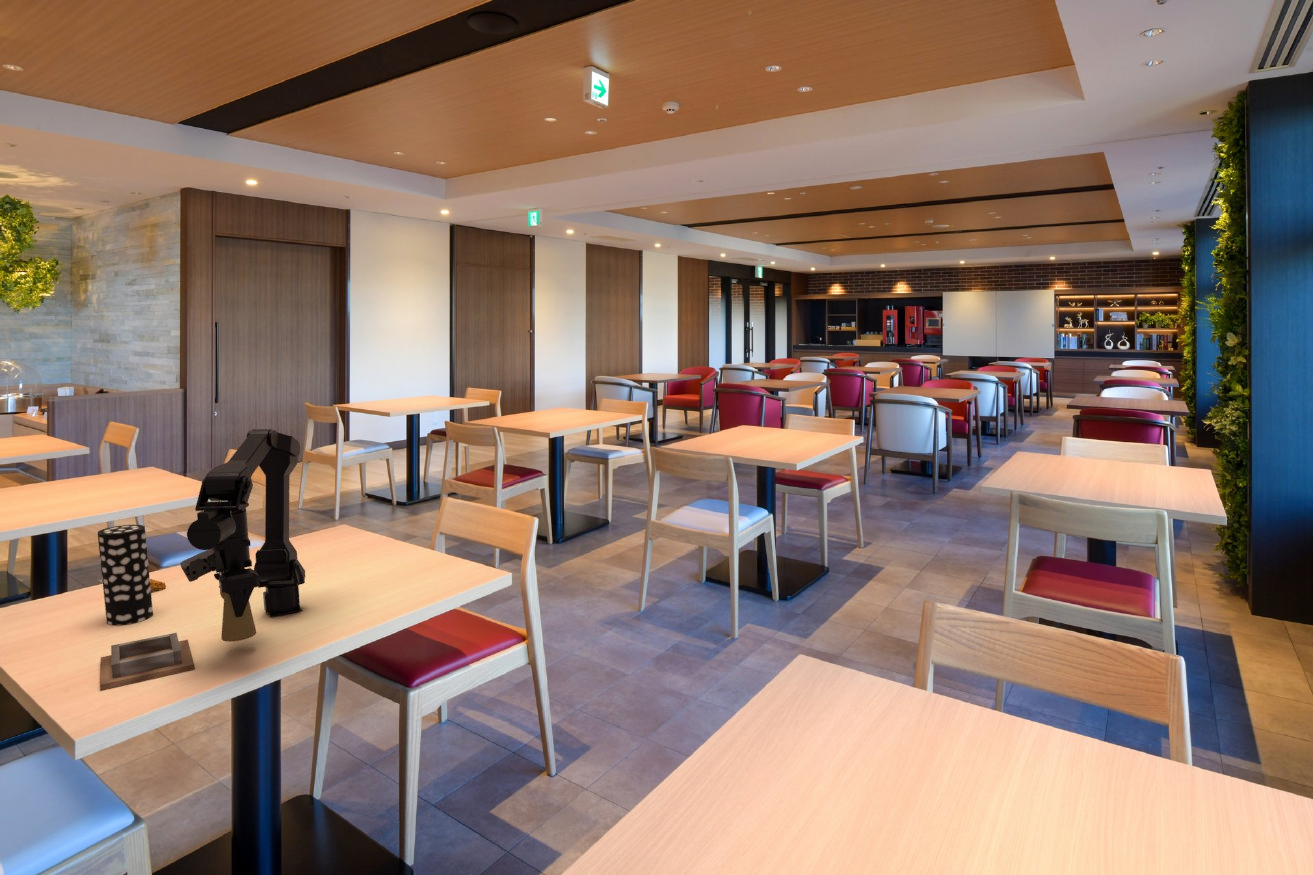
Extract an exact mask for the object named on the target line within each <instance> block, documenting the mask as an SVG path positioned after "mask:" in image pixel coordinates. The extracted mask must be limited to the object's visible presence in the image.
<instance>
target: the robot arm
mask: <svg viewBox="0 0 1313 875" xmlns="http://www.w3.org/2000/svg"><path fill="white" fill-rule="evenodd" d="M300 453H301V444H300V442H299V440H298V439H296V438H295V437H294V436H292V435H288V434H284V433H280V432H278V431H276V430H275V429H272V428H259V429H258V428H255V429H254V428H253V429H250V430H248V431H247V434H246V438H245V439H244V440H243V442H241V444H240V445H239V447H238V448H237V450H236V451H235V452H234V454H232V456H231V457H230V458H229V460H228V461H227V462H224V463H222V464H219V465H217V466H214V467H213V468H212V469H211V470H209V471H208V473H207V474H206V475H205V477H203V479H202V482H201V485H200V489H199V493H198V496H197V501H196V503H195V509H194V510H195V512H197V514H196V516H197V517H196V518H197V519H196V520H194V521H193V522H191V523H190V525H189V526H188V528H187V531H186V538H187V540H188V542H189V543H190V545H191V546H192V547H194V548H196V549H198V550H200V551H201V552H199V553H197V554H194V555H192V556H190V557H188V558H187V559H184V560H182V561H181V562H180V563H179V565H180V568H181V570H182V572H183V573H184V575H185V577H186V579H187V581H188V582H190V583H192V582H194V581H197V580H198V579H199V578H200V577H203V576H206V575H207V574H209V573H211V572H215V573H213V576H214V579H215V580H217V581H218V583H219V584H218V588H219V591H220V590H221V592H222V593H227V594H229V597H230V600H231V603H232V606H233V610H234V613H235V616H236V617H242V616H243V613H244V611H245V608H246V606H247V603H248V601H249V602H250V598H251V595H252V593H253V592H254V589H256V588H258V589H261V588H265V591H263V592H262V596H263V597H262V598H263V599H262V600H263V610H264V612H265V613H267V614H268V617H271V618H273V617H277V616H284V615H287V614H288V615H290V614H294V613H298V612H302V611H303V609H302V607H301V602H300V590H299V589H300V588H299V586H300V585H304V584H305V583H306V580H305V579H306V569H305V568H304V567H303V565H302V564H301V563H300V561H299V559H298V552H297V549H296V548H295V547H294V545H293V543H292V542H291V541H290V478H291V474H292V472H293V471H294V470H295V468H296V466H297V465H298V462H299V461H298V460H299V456H300ZM258 467H259V468H260V469H261V471H262V472H263V475H264V477H265V496H264V497H265V500H264V501H265V506H264V508H265V509H264V512H265V514H264V515H265V516H264V517H265V518H264V519H265V523H264V526H265V528H264V543H263V544H262V545H261V547H260V549H258V550H256V553H255V555H254V556H255V562H254V566H253V561H252V560H251V557H250V556H251V555H250V554H251V553H250V547H251V540H250V539H249V528H248V517H247V516H248V513H247V508H248V507H249V506H250V503H249V499H250V496H251V493H252V489H253V486H254V484H253V479H252V476H253V475H254V473H255V471H256V470H257V469H258ZM252 567H253V569H252Z"/></svg>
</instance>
